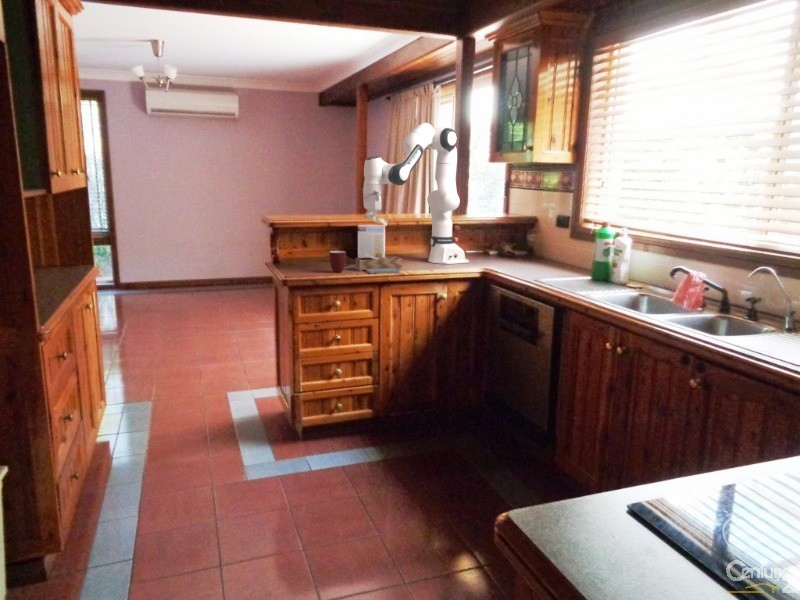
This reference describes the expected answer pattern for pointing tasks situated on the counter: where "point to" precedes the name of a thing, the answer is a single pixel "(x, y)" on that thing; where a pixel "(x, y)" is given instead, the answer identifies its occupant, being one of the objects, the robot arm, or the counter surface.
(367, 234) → the cracker box
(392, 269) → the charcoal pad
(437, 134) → the robot arm
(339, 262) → the mug
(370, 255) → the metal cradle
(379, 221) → the birch bar
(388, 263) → the tan patterned box
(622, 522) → the counter surface
